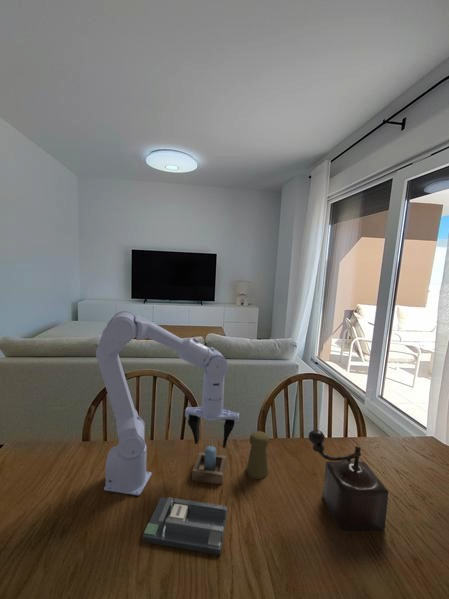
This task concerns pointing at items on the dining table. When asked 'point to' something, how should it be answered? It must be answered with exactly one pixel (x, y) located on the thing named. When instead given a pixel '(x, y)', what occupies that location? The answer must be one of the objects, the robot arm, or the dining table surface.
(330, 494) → the manual coffee grinder
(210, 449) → the blue rounded cylinder
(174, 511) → the plate
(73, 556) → the dining table surface
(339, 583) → the dining table surface
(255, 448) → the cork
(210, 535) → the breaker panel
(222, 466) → the stylus holder
